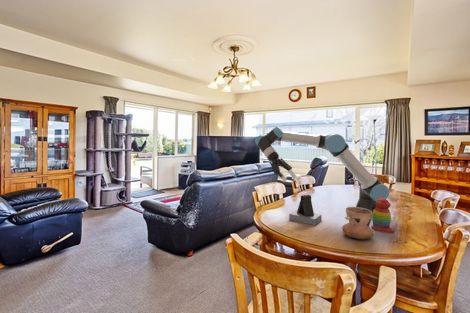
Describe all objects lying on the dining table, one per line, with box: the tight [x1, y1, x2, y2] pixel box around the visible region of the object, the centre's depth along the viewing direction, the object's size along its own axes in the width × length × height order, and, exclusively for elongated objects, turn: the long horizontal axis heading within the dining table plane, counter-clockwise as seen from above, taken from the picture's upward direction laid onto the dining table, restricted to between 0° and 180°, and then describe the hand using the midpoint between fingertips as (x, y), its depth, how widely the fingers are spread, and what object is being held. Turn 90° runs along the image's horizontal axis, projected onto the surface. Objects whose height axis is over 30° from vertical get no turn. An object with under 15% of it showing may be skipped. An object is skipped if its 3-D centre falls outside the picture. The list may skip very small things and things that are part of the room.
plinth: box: [288, 209, 322, 226], centre depth 159 cm, size 16×12×4 cm
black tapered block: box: [296, 194, 315, 217], centre depth 158 cm, size 9×6×12 cm, turn 25°
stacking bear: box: [371, 197, 395, 234], centre depth 143 cm, size 11×10×18 cm
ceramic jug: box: [341, 206, 374, 240], centre depth 132 cm, size 18×14×14 cm
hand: (290, 179), depth 165 cm, fingers open, 13 cm apart
